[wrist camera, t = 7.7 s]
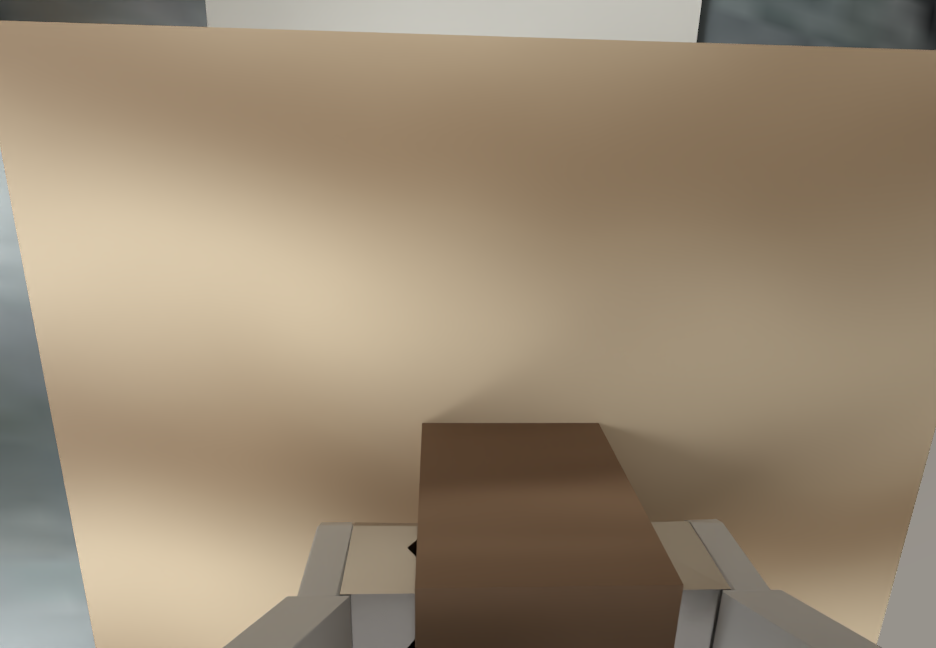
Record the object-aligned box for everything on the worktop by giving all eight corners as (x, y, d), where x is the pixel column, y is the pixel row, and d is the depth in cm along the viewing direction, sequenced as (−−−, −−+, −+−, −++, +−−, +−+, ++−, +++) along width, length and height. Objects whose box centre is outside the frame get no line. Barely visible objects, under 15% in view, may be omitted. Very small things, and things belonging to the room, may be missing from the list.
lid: (13, 27, 10) (-374, -51, 5) (993, 57, 10) (1433, 15, 6) (144, 780, 14) (6, 1098, 10) (814, 761, 15) (980, 1047, 10)
